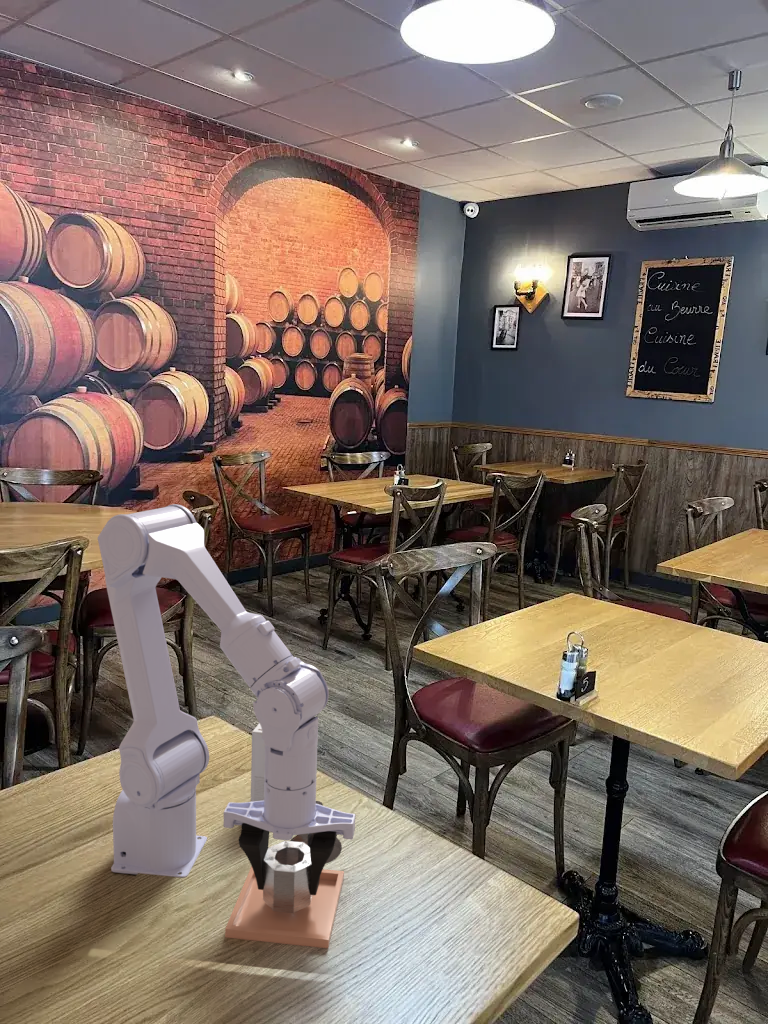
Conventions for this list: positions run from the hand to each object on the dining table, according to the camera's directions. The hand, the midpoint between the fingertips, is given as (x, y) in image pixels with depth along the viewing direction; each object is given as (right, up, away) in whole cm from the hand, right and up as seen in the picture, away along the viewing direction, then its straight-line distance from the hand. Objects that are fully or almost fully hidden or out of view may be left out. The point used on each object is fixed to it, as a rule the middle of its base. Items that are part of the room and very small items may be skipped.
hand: (288, 886), depth 85 cm
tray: (0, -3, +1) cm, 3 cm away
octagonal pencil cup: (0, -1, 0) cm, 1 cm away
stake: (+2, -1, +11) cm, 11 cm away
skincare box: (-5, +1, +22) cm, 22 cm away
